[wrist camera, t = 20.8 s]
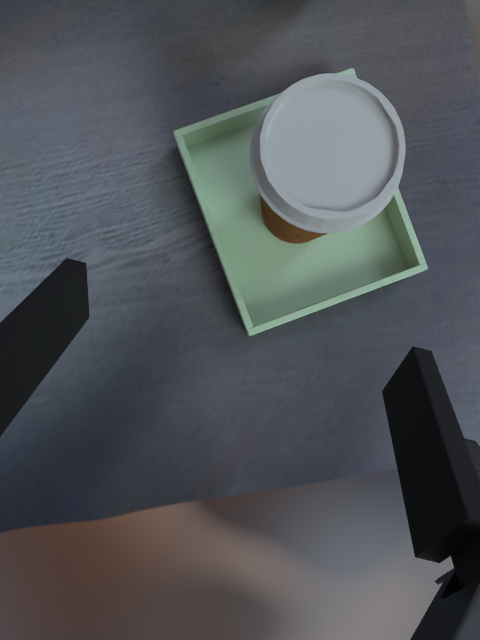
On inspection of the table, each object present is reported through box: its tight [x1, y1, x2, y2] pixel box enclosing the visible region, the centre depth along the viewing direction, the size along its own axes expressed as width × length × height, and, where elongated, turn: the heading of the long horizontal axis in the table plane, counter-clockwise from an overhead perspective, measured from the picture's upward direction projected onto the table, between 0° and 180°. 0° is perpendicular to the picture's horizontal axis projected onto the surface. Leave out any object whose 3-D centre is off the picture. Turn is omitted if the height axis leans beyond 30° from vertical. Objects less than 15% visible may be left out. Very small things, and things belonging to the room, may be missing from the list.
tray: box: [173, 68, 428, 336], centre depth 33 cm, size 18×16×3 cm
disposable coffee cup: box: [250, 73, 406, 244], centre depth 28 cm, size 10×10×12 cm
